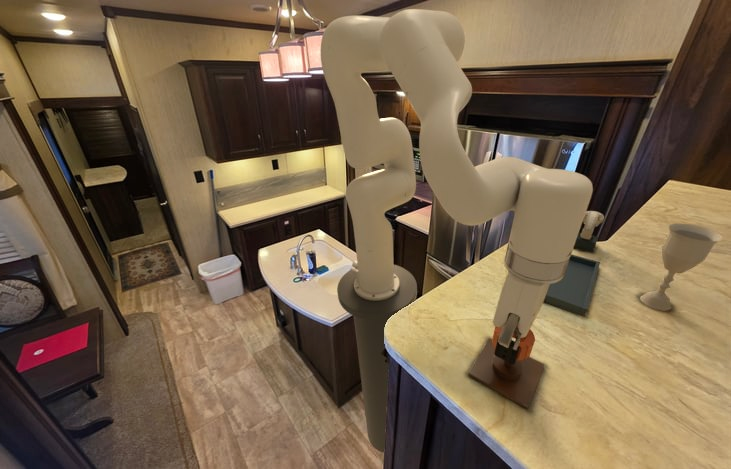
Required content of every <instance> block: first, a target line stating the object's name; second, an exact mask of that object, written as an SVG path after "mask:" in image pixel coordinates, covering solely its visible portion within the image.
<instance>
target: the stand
mask: <svg viewBox="0 0 731 469" xmlns="http://www.w3.org/2000/svg"><path fill="white" fill-rule="evenodd" d="M494 353H495V347H494V345H493V342H492V338H490V337H488V338H487V340H486V341H485V343H484V345H483V347H482V348H481V350H480V352H479V354H478V356H477V357H476V359H475V360H474V362H473V364H472V366H471V367H470V369H469V371H468V372H467V375H468V376H469V377H471V378H472V379H475V380H476V381H478V382H480V383H482V384H483V385H485V386H487V387H488V388H490V389H492V390H493V391H496V392H497V393H499V394H500V395H502V396H504V397H506V398H507V399H509V400H511V401H512V402H513V403H516V404H518V405H519V406H521V407H522V408H525V409H526V410H529V408H530V405H531V402H532V400H533V397H534V394H535V392H536V391H535V390H536V389H537V385H538V383H539V380H540V378H541V375H542V372H543V369H544V366H545V363H543V362H540V361H538V360H536V359H534V358H532V357H531V356H529V357H528V358H526V359H524V360H516V362H515V364H514V365H513V364H510V363H508V362H507V361H504V360H503V359H501V358H499V357H497V356H495V354H494Z"/></svg>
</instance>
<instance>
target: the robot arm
mask: <svg viewBox="0 0 731 469" xmlns="http://www.w3.org/2000/svg"><path fill="white" fill-rule="evenodd" d="M465 39H466V38H465V31H464V28H463V25H462V23H461V22H460V20H459V19H458V18H457V17H456V16H455V15H454V14H452V13H451V12H447V11H444V10H433V9H423V8H408V9H404V10H401V11H398V12H397V13H394V14H393V15H392V16H390V17H387V16H374V15H346V16H341V17H338V18H336V19H333V20H332V21H331V22H329V24H328V25H327V26H326V28H325V29H324V31H323V33H322V37H321V42H320V63H321V64H320V65H321V68H322V73H323V76H324V79H325V82H326V85H327V87H328V89H329V92H330V95H331V97H332V100H333V103H334V107H335V112H336V117H337V122H338V127H339V132H340V138H341V142H342V148H343V152H344V157H345V159H346V162H347V163H348V165H349V166H350V167H351V168H353V169H356V170H363V169H368V168H373V167H376V166H380V165H383V166H384V168H382V169H379V170H375V171H372V172H368V173H364V174H362V175H360V176H357V177H355V178H354V179H352V180H351V181H350V182H349V184H347V187H346V190H345V197H346V202H347V206H348V209H349V212H350V216H351V221H352V226H353V235H354V242H355V243H354V244H355V253H356V260H354V261H353V262H352V267H350V268H349V271H350V272H352V273H355V274H356V279H355V281H354V289H355V292H356V293H357V294H358V295H359V296H360V297H362V298H364V299H367V300H372V301H379V300H385V299H388V298H390V297H392V296H394V295H395V294H396V293H397V292H398V290H399V287H400V281H399V278H398V277H397V276H396V275H395V274H394V265H395V264H394V234H393V233H394V230H393V226H392V224H391V222H390V221H389V220H388V219H387V217H386V215H385V214H386V212H387V211H390V210H391V209H394V208H397V207H398V206H401V205H404V204H406V203H408V202H409V201H411V200H412V198H413V197H414V196H415V194H416V190H417V177H416V167H415V160H414V150H413V149H414V148H413V143H412V136H411V134H410V131H409V129H408V127H407V125H406V124H405V123H404V122H403V121H402V120H400V119H399V118H396V117H385V118H380V117H379V112H378V105H377V104H378V103H377V100H376V96H375V94H374V91H373V90H372V88H371V86H370V85H369V83H368V82H367V81H366V79H365V78H363V77H362V74H363V73H364V72H367V73H368V72H379V71H381V72H383V71H384V72H385V71H390V72H391V74H392V76H393V78H394V79H395V81H396V82H397V84H398V86H399V87H400V89H401V92H403V95H404V96H405V98H406V99H407V101H408V103H409V104H410V106H411V108H412V110H413V111H414V113H415V115H416V116H417V118H418V120H419V122H420V130H419V136H418V137H419V139H418V140H419V141H418V148H419V159H420V165H421V170H422V172H423V175H424V177H425V180H426V182H427V183H428V185H429V187H430V189H431V190H432V192H433V194H434V195H435V196H434V197H435V198H436V199H437V201H438V202H439V204H440V205H441V207H442V208H443V210H444V211H445V212H446V213H447V215H448V216H450V218H451V219H452V220H454V221H455V222H457V223H459V224H462V225H464V226H469V227H470V226H478V225H483V224H485V223H487V222H489V221H491V220H493V219H494V218H496V217H498V216H500V215H502V214H503V213H506V212H510V211H511V212H512V211H513V212H514V215H513V219H512V223H511V229H510V235H509V239H508V244H507V246H506V252H505V256H504V262H503V263H504V267H505V269H506V270H507V273H506V276H505V279H504V280H503V281H504V282H503V285H502V287H501V290H500V294H499V298H498V301H497V305H496V309H495V311H494V315H493V319H492V324H493V326H494V327H495V326H496V327H498V328H500V327H501V326H502V325H503V326H502V330H501V333H500V336H499V337H498V340H497V344H496V348H495V353H494V354H495V356H497V357H499V358H501V359H503V360H504V361H507V362H508V363H510V364H513V365H514V364H515V362H516V359H517V356H518V352H519V349H520V346H518V345H519V342H520V339H521V338H523V337H526V335H527V334H528V332H529V330H530V329H531V328H532V327H533V325H534V322H535V320H536V319H537V317H538V315H539V312H540V310H541V308H542V306H543V304H544V302H543V301H544V299H545V296H546V294H547V291H548V288H549V285H550V284H552V283H556V282H558V281H560V280H561V279H562V278H563V276H564V273H565V270H566V267H567V265H568V262H569V259H570V256H571V254H572V253H573V250H574V248H573V247H574V244H575V242H576V239H577V236H578V233H580V230H581V228H582V224H583V223H584V222H583V219H584V216H585V213H586V212H587V211H588V207H589V204H590V201H591V199H592V195H593V191H594V188H593V187H594V186H593V182H592V181H591V180H590V178H588V177H587V176H586V175H584V174H581V173H579V172H576V171H572V170H568V169H562V168H561V169H560V168H547V167H544V166H540V165H537V164H535V163H532V162H529V161H527V160H524V159H521V158H518V157H513V156H500V157H497V158H494V159H492V160H489V161H486V162H483V163H481V164H478V165H475V166H474V163H473V162H472V161H471V159H470V157H469V156H468V154H467V152H466V151H465V148H464V146H463V145H462V142H461V138H460V135H459V132H458V119H459V114H460V113H461V112H462V110H464V108H465V107H466V106H467V105H468V103H469V102H470V100H471V97H472V95H473V85H472V83H471V82H470V80H469V78H468V77H467V75H466V74H465V72H464V71H463V69H462V68H461V66H460V64H459V63H458V62H459V61H460V59H461V57H462V55H463V52H464V49H465V43H466V42H465V41H466V40H465ZM355 268H357V269H355ZM517 326H518V328H516V327H517ZM514 334H516V335H517V337H516V339H515V340H513V335H514Z"/></svg>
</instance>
